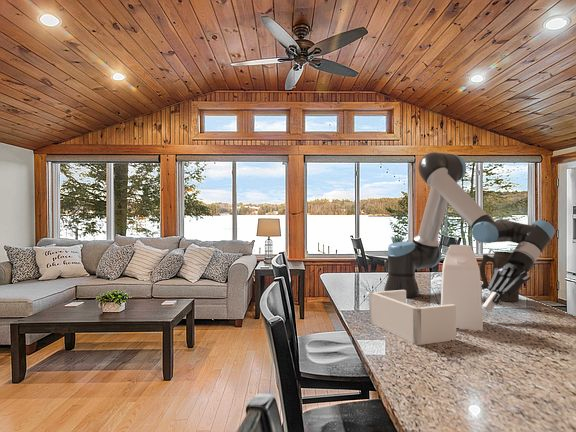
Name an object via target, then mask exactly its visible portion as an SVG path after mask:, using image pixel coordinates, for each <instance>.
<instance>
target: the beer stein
mask: <svg viewBox="0 0 576 432" xmlns="http://www.w3.org/2000/svg"><path fill="white" fill-rule="evenodd" d="M512 252H513V251H512ZM512 252H511V251H494V253H493V256H490V255H488V254H483V255H482V260H481V262H480V265H479V269H480V279H482V283H481V290H489V289H488V286H489V284H490V283H489V282H488V279H487V276H486V265H487V264H488V263H489V262H491V263H492V270H491V278H492V277H493V275H494V270H495V268H498V269H501V268H503V266H504V265H506V264H507V259H508V257H509V256H510V255H511V253H512ZM519 294H520V287H519V288H518V289H517V290H516V291H515V292H514V293H513V294H512V295H511V296H510V297H507V296H504V297H503V298H501V300H500V301H504V302H515V303H516V302H519V301H520V296H519Z"/></svg>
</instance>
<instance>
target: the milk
mask: <svg viewBox="0 0 576 432" xmlns="http://www.w3.org/2000/svg"><path fill="white" fill-rule="evenodd" d="M441 271H442V272H441V293H440V294H441V295H440V305H448V304H454V305H456V328H459V329H458V330H465V329H469V330H468V331H477V330H482V331H481V332H483V331H484V322H483V321H484V320H483V304H482V287H481V286H482V283H481V275H480V265H479V263H478V261H477V257H476V255H475V253H474V250H473V249H472V247H471V245H470V244H450V245H449V247H448V249H447V251H446V254H445V257H444V260H443V263H442V269H441Z"/></svg>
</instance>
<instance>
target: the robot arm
mask: <svg viewBox="0 0 576 432" xmlns="http://www.w3.org/2000/svg"><path fill="white" fill-rule="evenodd" d="M466 172H467V165H466V162H465V160H464V159H463V158H462V157H461V156H459V155H457V154H454V153H446V152H445V153H444V152H434V151H432V152H428V153H427V154H425V155H423V157H422V158H421V159H420V160H419V163H418V173H419V175H420V177H421V179H422V180H423V181H424V183H426V185H427V186H429V187H430V189H429V193H428V197H427V200H426V202H425V203H426V205H425V208H424V212H423V215H422V219H421V222H420V227H419V230H418V233H417V235H415V236H414V237H413V239H412V241H409V240H408V241H406V240H405V241H396V242H392V243H390V244H389V245H388V249H387V268H388V269H387V279H386V283H385V285H384V288H383V289H384V290H383V291H394V290H406V298H414V297H418V296H420V289H419V286H418V282H417V280H416V271H415V270H421V269H422V270H423V269H424V270H426V269H431V268H435V267H436V266H437V265H438V264H439V262H440V261H441V259H442V252H441V247H440V243H439V241H438V238H439V235H440V231H441V227H442V223H443V219H444V216H445V213H446V209H447V205H448V204H449V206H450V207H451V208H452V209H453V210H454V211H455V212H456V213H457V214H458V215H459V216H460V218H462V220H463V221H464V222H466V224H467V225H468V226H469V227H470V228H471V234H472V237H473V239H474V240H475V241H477V242H479V243H480V244H481V243H482V244H484V243H486V244H493V243H501V242H502V243H503V242H510V243H514V244H517V245H516V247H515V248H513V249H514V250H513V251H512V253H511V255H510V256H509V257H508V259H507V264H506V265H504V266H503V268H501V269H498V268H495V270H494V275H493V277H492V276H491V280H490V282H489V283H488V284H489V286H488V289H487V290H489V292H490V293H489V294H488V296H487V297H486V300H485V302H484V303H483V304H482V309H484V310H485V311H486V312H488V313H491V311H492V310H493V309H494V308H495V306H496V305H498V304H499V303H500V302H501V301H502V300H501V298H503V297H504V296H507V297H510V296H511V295H512V294H513V293H514V292H515V291H516V290H517V289H518V288H519V289H520V288H521V286H522V285H523V284H524V283H525V282H527V281H529V280H531V277H530V275H529V274H528V273H529V271H530V270H531V269H532V267H534V264H535V263H536V261H538V259H539V257H540V256H541V254H542V253H543V251H544V250H545V248H546V247H547V245H549V243H551V241H552V239H553V237H554V235H555V234H556V229H555V227H554V226H553V225H552V224H551V223H550V222H548V221H546V220H542V219H539V220H535V221H534V222H532V224H528V223H527V224H525V223H520V222H515V221H512V220H509V219H500V218H499V219H496V220H494V219H493V218H492V217H491V216H490V215H489V214H488V213H487V212H486V211H485V210H484V209H483V208H482V207H481V206H480V205H479V204H478V203H477V202H476V201H475V199H473V198H472V197H471V195H470V194H469V193H468V192H466V191H465V190H464V189H463V187H461V185H459V184H458V181H460V180H462V179H463V178H464V177H465V175H466Z"/></svg>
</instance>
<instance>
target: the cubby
mask: <svg viewBox="0 0 576 432" xmlns="http://www.w3.org/2000/svg"><path fill="white" fill-rule="evenodd" d="M368 299H369V300H368V301H369V303H368V304H369V305H368V306H369V307H368V308H369V309H368V310H369V323H371V324H372V325H374V326H376V327H379V328H381V329H382V330H385V331H387V332H389V333H390V334H393V335H395V336H397V337H399V338H401V339H402V340H405V341H407V342H409V343H411V344H413V345H414V346H415V345H416V346H421V345H428V344H437V343H443V342H451V340H452V341H457V329H456V305H454V304H448V305H441V304H440V305H439V304H438V305H432V306H431V305H430V306H419V307H417V306H414V305H411V304H409V303H407V297H406V290H394V291H384V290H382V291H370V292H369V297H368Z"/></svg>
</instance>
